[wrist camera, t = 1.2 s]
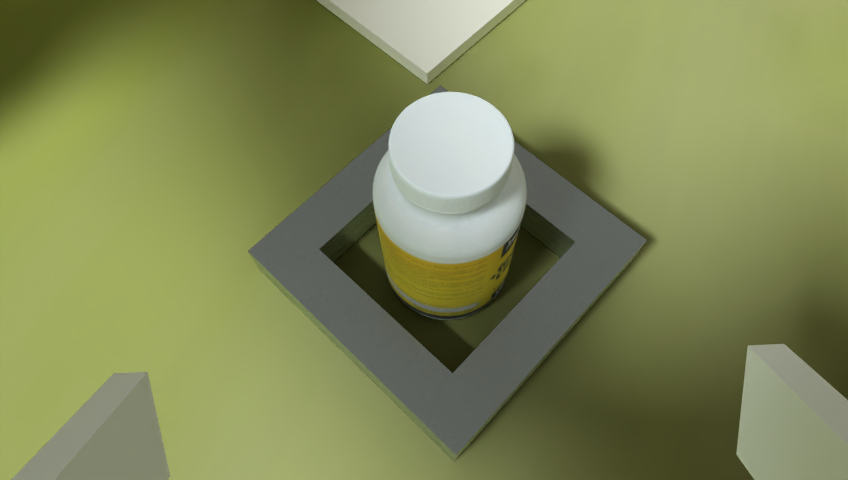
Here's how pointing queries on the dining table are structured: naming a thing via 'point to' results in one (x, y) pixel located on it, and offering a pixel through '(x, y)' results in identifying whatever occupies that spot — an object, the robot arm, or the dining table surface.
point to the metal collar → (394, 346)
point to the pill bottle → (449, 204)
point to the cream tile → (423, 28)
